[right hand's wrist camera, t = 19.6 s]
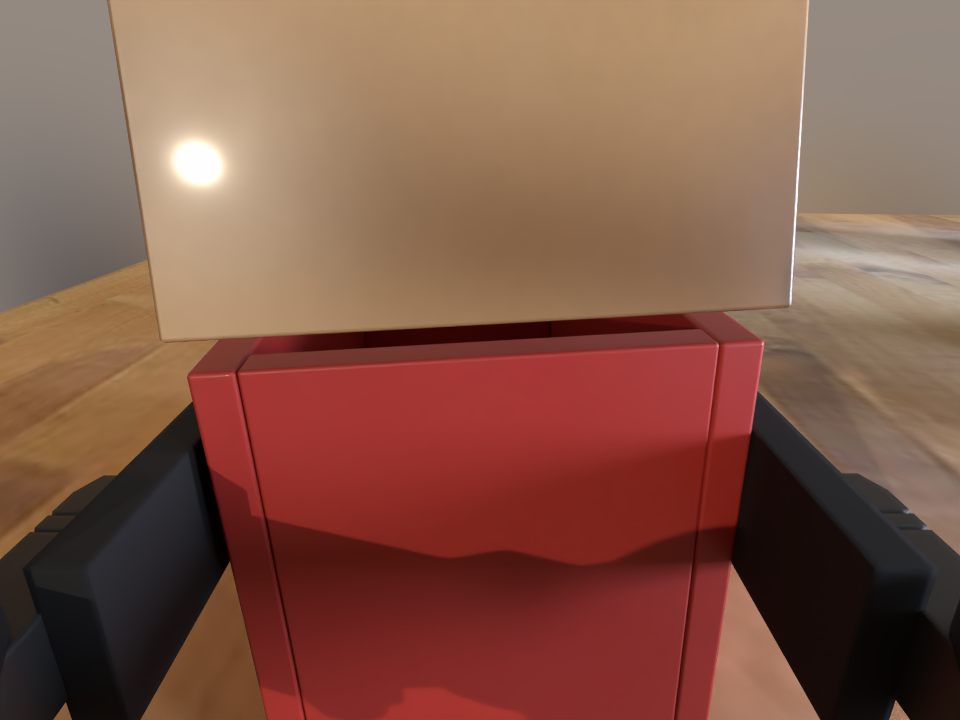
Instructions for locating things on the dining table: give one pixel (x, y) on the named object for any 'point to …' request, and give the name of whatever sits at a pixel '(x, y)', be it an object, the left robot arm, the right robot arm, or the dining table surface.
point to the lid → (460, 159)
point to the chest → (483, 514)
